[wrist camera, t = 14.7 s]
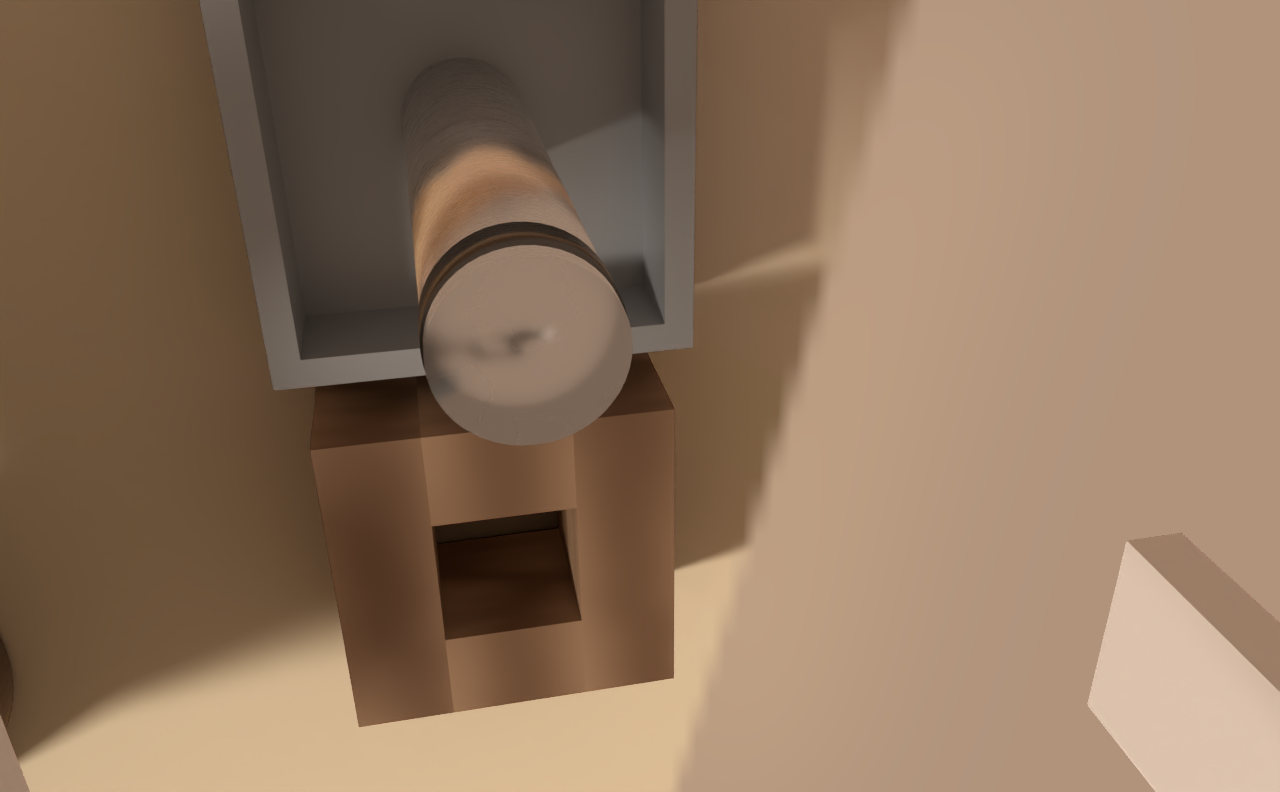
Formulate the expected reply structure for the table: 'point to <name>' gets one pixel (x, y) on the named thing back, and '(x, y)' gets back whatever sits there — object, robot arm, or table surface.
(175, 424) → the table surface
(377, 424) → the wooden square socket block
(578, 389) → the pin
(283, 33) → the tray
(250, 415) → the table surface
